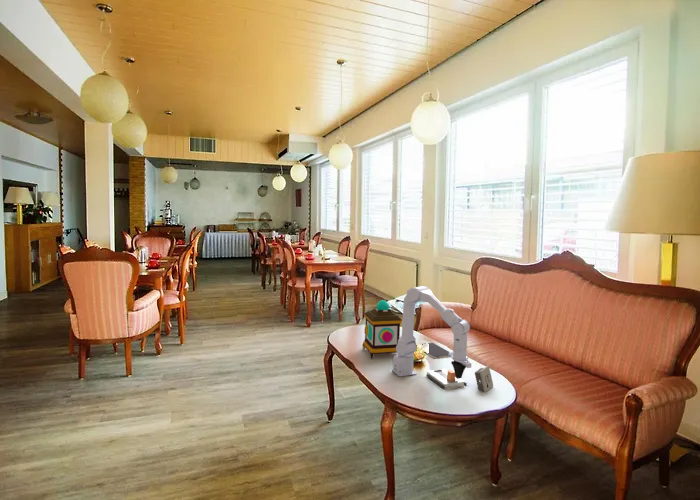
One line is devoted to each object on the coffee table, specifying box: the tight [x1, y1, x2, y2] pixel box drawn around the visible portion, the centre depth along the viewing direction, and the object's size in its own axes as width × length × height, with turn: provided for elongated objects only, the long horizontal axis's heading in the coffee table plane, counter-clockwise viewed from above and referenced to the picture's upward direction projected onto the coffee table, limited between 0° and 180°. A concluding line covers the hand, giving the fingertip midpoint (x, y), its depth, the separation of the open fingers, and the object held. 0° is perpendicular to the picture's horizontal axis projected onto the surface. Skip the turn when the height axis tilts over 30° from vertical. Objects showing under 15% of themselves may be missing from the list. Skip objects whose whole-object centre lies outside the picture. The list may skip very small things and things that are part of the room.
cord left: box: [425, 373, 445, 390], centre depth 190 cm, size 14×1×1 cm, turn 20°
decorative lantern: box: [362, 299, 403, 360], centre depth 227 cm, size 20×20×30 cm
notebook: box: [421, 342, 450, 359], centre depth 233 cm, size 13×2×21 cm
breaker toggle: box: [447, 369, 456, 381], centre depth 186 cm, size 2×3×4 cm
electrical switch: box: [474, 365, 494, 393], centre depth 185 cm, size 9×5×9 cm, turn 141°
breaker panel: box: [426, 368, 465, 390], centre depth 191 cm, size 10×16×3 cm, turn 20°
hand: (458, 378), depth 181 cm, fingers closed
